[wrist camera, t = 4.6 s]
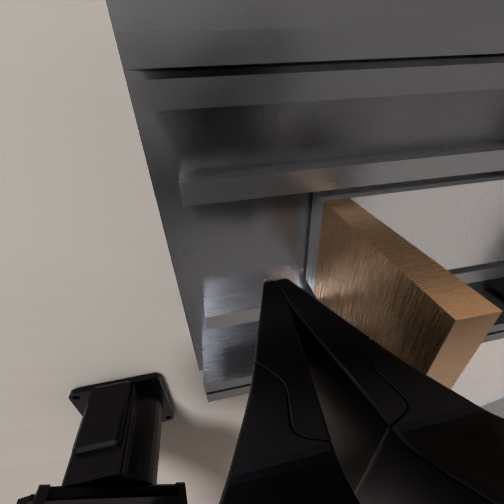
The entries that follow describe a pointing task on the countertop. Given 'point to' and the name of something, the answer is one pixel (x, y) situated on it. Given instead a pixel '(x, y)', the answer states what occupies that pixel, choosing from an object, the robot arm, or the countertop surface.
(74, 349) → the countertop surface
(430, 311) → the grey wood-ended block
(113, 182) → the countertop surface
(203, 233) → the grey rimmed tray
